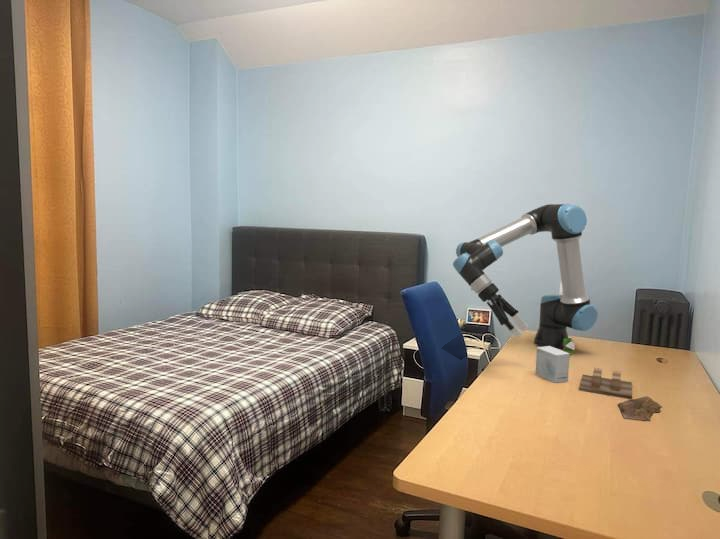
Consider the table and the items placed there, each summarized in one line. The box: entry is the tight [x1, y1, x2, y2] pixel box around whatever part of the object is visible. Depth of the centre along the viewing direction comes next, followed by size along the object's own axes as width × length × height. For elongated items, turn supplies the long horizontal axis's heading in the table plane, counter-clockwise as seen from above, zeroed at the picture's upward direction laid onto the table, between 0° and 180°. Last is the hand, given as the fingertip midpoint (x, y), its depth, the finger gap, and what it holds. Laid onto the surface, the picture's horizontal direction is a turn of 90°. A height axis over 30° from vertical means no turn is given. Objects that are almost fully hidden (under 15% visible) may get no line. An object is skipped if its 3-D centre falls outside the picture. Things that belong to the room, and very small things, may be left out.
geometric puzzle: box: [559, 337, 579, 355], centre depth 218 cm, size 7×7×8 cm
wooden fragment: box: [617, 395, 663, 422], centre depth 158 cm, size 26×11×1 cm, turn 135°
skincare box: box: [534, 346, 571, 384], centre depth 184 cm, size 10×6×10 cm, turn 21°
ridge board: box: [578, 367, 633, 400], centre depth 176 cm, size 16×16×5 cm
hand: (522, 332), depth 188 cm, fingers open, 13 cm apart
